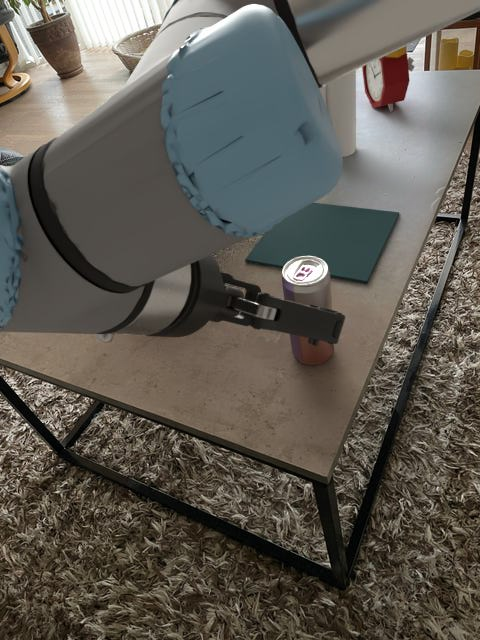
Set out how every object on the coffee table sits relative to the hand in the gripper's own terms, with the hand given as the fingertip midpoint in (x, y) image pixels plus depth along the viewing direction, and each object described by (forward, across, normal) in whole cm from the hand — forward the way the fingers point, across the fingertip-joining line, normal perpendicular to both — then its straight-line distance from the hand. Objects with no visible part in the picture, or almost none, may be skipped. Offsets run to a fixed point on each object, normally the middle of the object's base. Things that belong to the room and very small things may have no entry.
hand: (271, 305), depth 52 cm
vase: (+59, -22, +35) cm, 72 cm away
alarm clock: (+76, -17, +55) cm, 96 cm away
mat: (+37, -10, +13) cm, 40 cm away
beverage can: (+19, 0, -5) cm, 20 cm away
